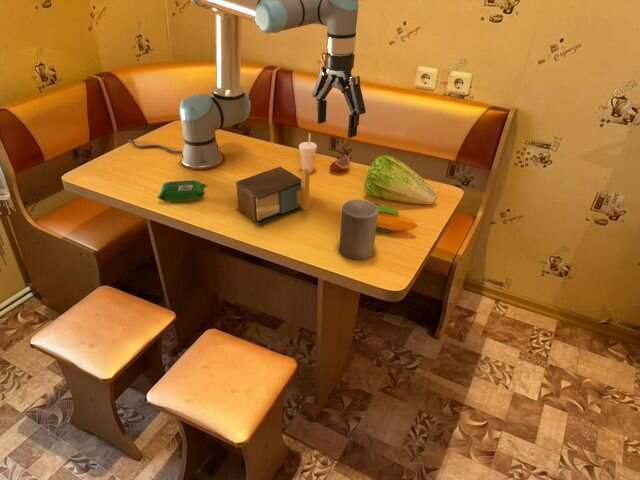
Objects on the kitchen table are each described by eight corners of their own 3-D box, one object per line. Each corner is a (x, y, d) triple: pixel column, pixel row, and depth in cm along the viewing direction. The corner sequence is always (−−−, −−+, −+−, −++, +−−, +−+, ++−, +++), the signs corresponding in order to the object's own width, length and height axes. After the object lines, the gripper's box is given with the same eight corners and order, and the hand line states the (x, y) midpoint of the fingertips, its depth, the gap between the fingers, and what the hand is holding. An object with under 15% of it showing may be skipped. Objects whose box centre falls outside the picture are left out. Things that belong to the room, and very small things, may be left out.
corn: (355, 194, 149) (422, 206, 143) (353, 215, 154) (418, 228, 148) (347, 207, 144) (416, 221, 138) (346, 228, 149) (413, 242, 143)
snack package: (206, 202, 162) (204, 188, 159) (158, 204, 162) (155, 190, 158) (207, 192, 168) (206, 178, 165) (161, 194, 167) (158, 180, 164)
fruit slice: (337, 163, 183) (338, 151, 180) (353, 168, 180) (354, 155, 177) (325, 172, 178) (326, 159, 175) (342, 177, 175) (342, 164, 171)
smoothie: (316, 174, 176) (317, 137, 168) (298, 174, 177) (298, 137, 168) (316, 166, 181) (317, 129, 173) (298, 166, 182) (298, 129, 173)
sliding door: (280, 213, 154) (279, 172, 146) (300, 204, 158) (301, 164, 149) (289, 219, 151) (289, 178, 142) (310, 211, 155) (311, 170, 146)
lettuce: (434, 204, 147) (450, 166, 151) (361, 178, 153) (378, 141, 156) (425, 224, 160) (440, 188, 164) (358, 200, 166) (375, 165, 170)
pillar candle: (335, 256, 138) (338, 209, 128) (344, 237, 145) (347, 192, 136) (369, 263, 135) (375, 216, 126) (377, 243, 142) (382, 197, 133)
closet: (238, 209, 158) (235, 181, 152) (280, 193, 166) (280, 166, 160) (259, 226, 150) (258, 197, 144) (303, 208, 158) (304, 180, 152)
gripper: (384, 60, 126) (375, 139, 139) (321, 41, 142) (319, 114, 155) (362, 65, 123) (356, 146, 136) (300, 45, 139) (300, 120, 152)
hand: (336, 129), depth 146 cm, fingers open, 13 cm apart
